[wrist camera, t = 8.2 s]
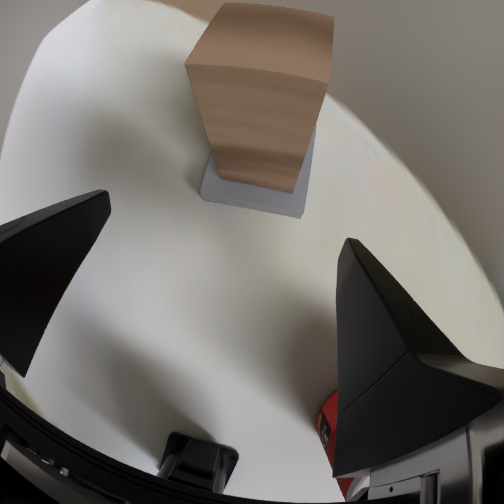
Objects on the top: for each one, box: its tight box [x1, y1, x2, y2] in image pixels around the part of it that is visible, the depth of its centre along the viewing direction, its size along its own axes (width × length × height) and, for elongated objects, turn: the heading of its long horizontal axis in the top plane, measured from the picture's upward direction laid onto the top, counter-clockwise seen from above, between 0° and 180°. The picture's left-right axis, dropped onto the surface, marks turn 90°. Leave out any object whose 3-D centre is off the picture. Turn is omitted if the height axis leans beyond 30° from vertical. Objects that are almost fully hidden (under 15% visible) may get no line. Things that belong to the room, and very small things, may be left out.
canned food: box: [317, 389, 370, 502], centre depth 14 cm, size 8×8×11 cm
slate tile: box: [200, 125, 316, 219], centre depth 22 cm, size 8×8×2 cm
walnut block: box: [185, 3, 334, 194], centre depth 15 cm, size 6×6×12 cm
